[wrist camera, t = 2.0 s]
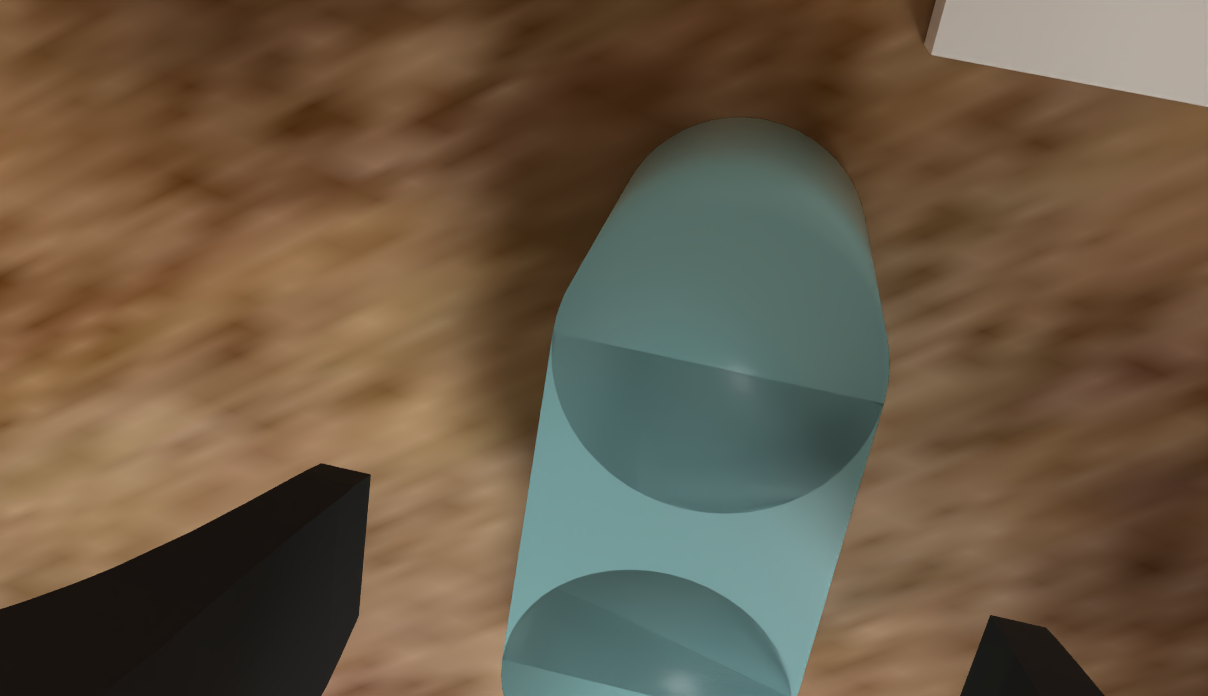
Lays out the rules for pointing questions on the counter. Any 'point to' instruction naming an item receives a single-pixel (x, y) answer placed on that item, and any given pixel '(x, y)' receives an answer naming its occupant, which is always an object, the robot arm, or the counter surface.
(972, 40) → the tile
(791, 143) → the plug block
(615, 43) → the counter surface
